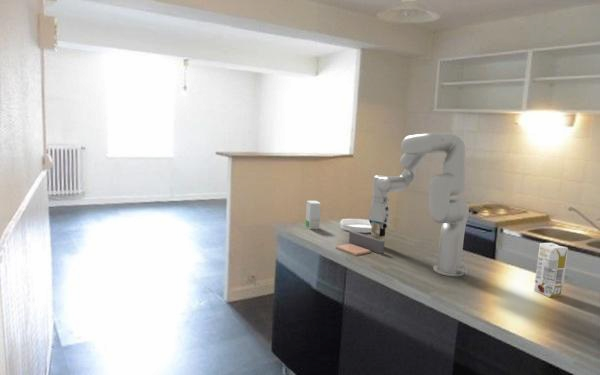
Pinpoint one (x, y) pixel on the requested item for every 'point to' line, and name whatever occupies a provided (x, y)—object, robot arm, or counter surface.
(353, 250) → the terracotta tile
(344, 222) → the pan
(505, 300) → the counter surface
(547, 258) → the juice carton
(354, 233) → the board
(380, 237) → the block
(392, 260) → the counter surface
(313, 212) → the skincare box
